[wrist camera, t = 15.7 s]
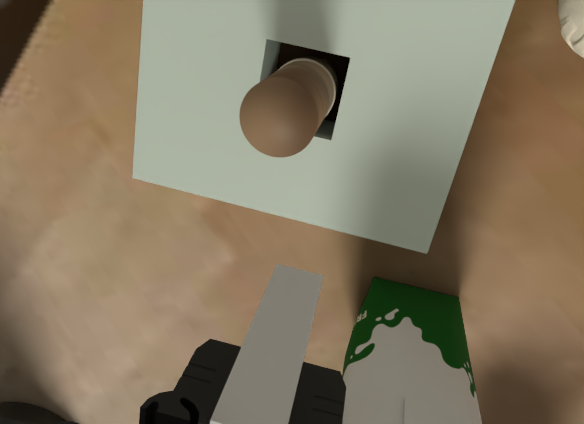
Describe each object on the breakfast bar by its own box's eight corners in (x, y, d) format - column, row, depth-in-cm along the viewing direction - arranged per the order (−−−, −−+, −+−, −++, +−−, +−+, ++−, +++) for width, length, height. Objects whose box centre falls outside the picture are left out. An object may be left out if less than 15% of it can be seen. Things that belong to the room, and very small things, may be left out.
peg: (282, 100, 39) (232, 148, 27) (293, 44, 37) (244, 68, 25) (336, 113, 38) (309, 167, 27) (349, 56, 37) (326, 87, 25)
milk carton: (442, 372, 45) (471, 623, 27) (342, 346, 46) (306, 572, 28) (473, 290, 42) (530, 517, 24) (364, 263, 43) (338, 462, 25)
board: (160, 158, 42) (132, 177, 38) (181, -89, 35) (149, -101, 30) (424, 224, 40) (427, 254, 36) (506, -23, 33) (524, -26, 28)
